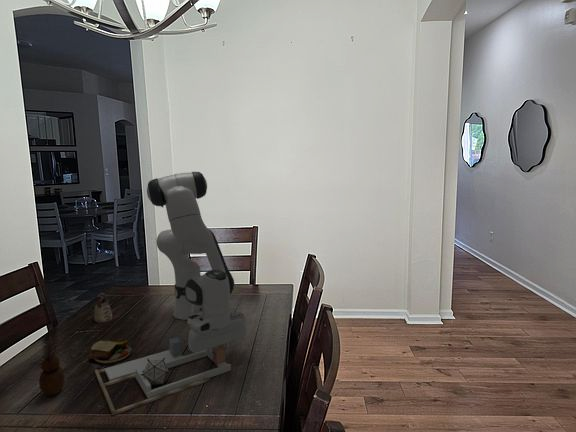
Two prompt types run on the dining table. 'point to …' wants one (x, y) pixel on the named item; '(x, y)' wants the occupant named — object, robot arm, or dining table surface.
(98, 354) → the toy sandwich meal
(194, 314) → the wineglass
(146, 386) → the grey rectangular frame
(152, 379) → the game die
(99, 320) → the figurine
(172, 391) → the lane rails
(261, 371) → the dining table surface
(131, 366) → the inner strip
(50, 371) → the wooden figurine
